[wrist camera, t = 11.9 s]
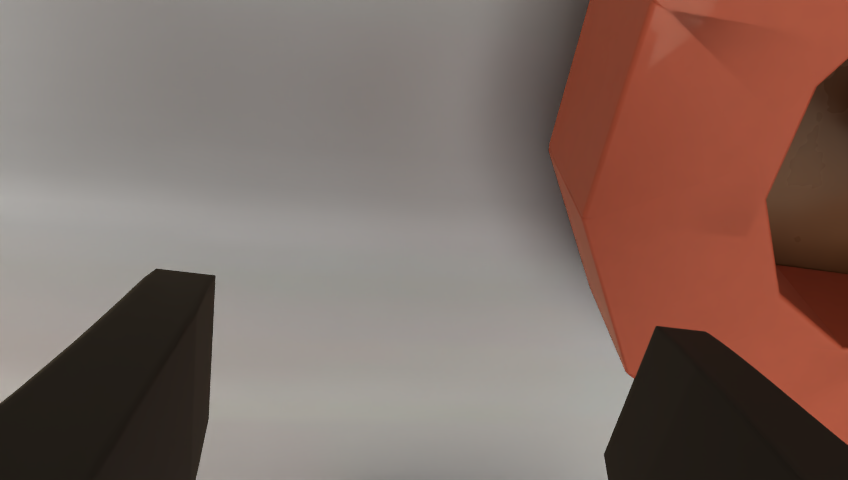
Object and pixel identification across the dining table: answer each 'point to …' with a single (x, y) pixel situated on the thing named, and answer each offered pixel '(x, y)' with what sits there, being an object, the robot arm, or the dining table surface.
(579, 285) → the dining table surface
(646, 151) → the ring
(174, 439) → the robot arm
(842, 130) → the stand
